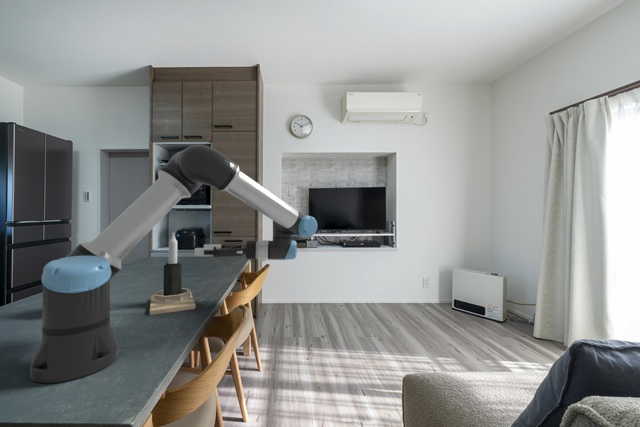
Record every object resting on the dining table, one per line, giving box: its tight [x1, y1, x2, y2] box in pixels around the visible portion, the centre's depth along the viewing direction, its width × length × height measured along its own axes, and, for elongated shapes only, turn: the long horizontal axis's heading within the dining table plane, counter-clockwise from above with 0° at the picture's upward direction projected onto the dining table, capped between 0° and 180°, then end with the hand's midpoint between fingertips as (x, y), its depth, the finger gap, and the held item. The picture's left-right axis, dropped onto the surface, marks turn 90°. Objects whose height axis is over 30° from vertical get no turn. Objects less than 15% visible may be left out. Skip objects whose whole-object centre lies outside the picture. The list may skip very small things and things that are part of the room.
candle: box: [163, 232, 183, 296], centre depth 111 cm, size 5×5×25 cm
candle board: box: [149, 287, 196, 316], centre depth 109 cm, size 20×14×4 cm
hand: (199, 249), depth 111 cm, fingers open, 13 cm apart
